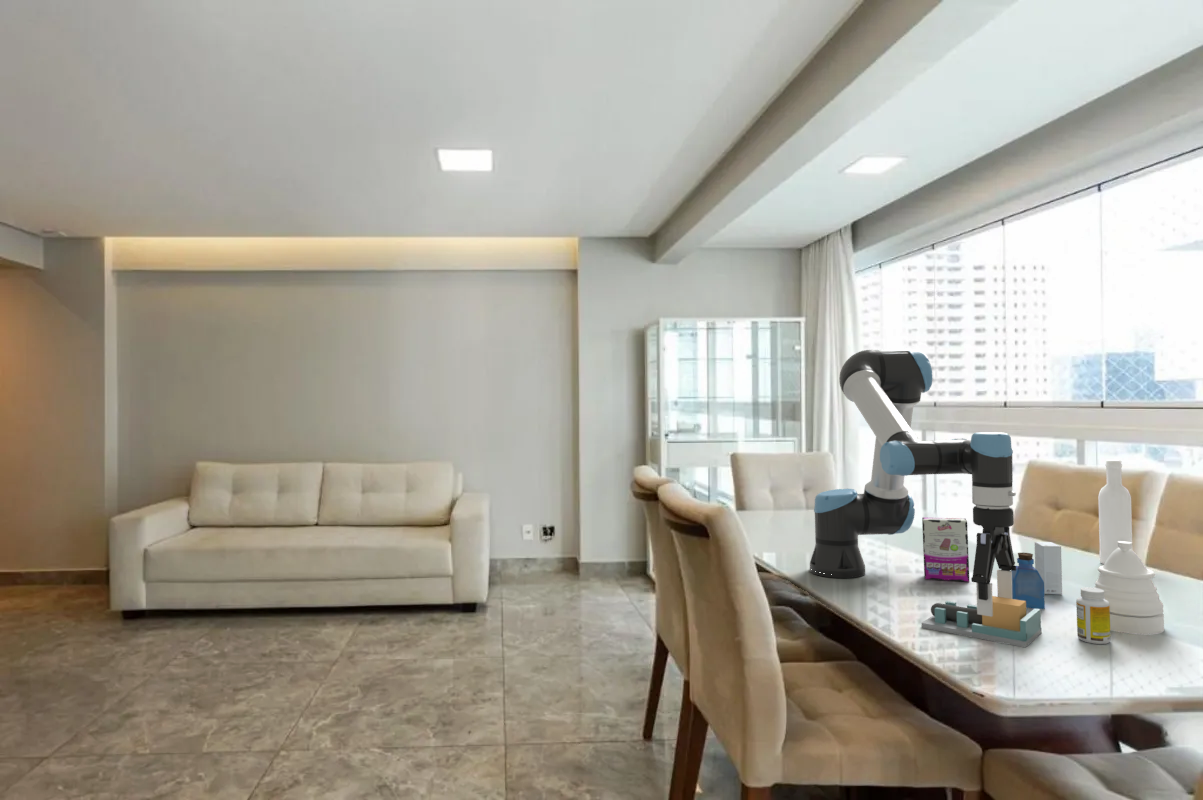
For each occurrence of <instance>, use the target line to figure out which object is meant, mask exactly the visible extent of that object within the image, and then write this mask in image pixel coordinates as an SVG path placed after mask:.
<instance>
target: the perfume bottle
mask: <svg viewBox="0 0 1203 800" xmlns="http://www.w3.org/2000/svg"><path fill="white" fill-rule="evenodd" d="M1017 555H1018V557H1017V558H1016V562H1017V564H1018V565H1015V566H1016V571H1012V570H1010V571H1012V599H1016V600H1022V601H1026V609H1035V608H1036V609H1040V610H1045V609H1046V606H1045V594H1044V581H1043V580H1042V578H1041V576H1040V574H1039V573H1038V571H1037V570H1036V569H1035V566H1033V565H1035V558H1034V554H1033V553H1031V552H1030V553H1029V552H1017Z"/></svg>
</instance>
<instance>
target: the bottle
mask: <svg viewBox="0 0 1203 800" xmlns="http://www.w3.org/2000/svg"><path fill="white" fill-rule="evenodd" d="M1122 467H1123V464H1122V461H1121V460H1120V459H1106V460H1105V472H1106V475H1105V476H1106V478H1105V479H1106V484H1104V486H1102V487H1101V488H1100V490H1099V493H1098V495H1097V496H1098V500H1097V501H1098V525H1099V526H1098V532H1099V534H1098V535H1099V536H1098V537H1099V539H1098V540H1099V553H1098V554H1099V562H1100V563H1101V564H1102V565H1104V564H1105V562H1106V560H1107V559H1108V557H1109V556H1110V555H1111V553H1112V552H1113V551H1114V550H1116V549H1117V548H1119V546H1118V543H1117V542H1118V541H1126V542H1132V543H1133V521H1132V520H1133V519H1132V517H1133V516H1132V514H1133V512H1132V495H1131V494H1130V491H1129V489H1128V488H1127V487H1125V486H1124V485H1123V480H1122V479H1123V475H1122V473H1123V472H1122ZM1131 550H1133V546H1132V547H1131ZM1133 551H1134V550H1133Z"/></svg>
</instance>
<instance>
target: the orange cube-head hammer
mask: <svg viewBox="0 0 1203 800" xmlns="http://www.w3.org/2000/svg"><path fill="white" fill-rule="evenodd" d="M992 601H993V616H992V617H991V616H985V615H979V614H977V609H971V608H967V607H964V606H957V605H956V606H953V605H947V604H945V603H940V602H936V603H934V604H932V605H931V607H930V613H931V615H932V616H934V617H935V608H936V607H937V608H943V609H946V620H951V621H957V611H961V612H967V613H968V624H973V623H975V624H981V625H986V626H992V627H997V628H1003V629H1009V630H1014V631H1020V620H1021V619H1022V618H1024V617H1025V616H1026V615H1027V608H1026V601H1022V600H1016V599H1009V598H1003V597H998V596H995V595H992Z"/></svg>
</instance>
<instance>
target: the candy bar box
mask: <svg viewBox="0 0 1203 800" xmlns="http://www.w3.org/2000/svg"><path fill="white" fill-rule="evenodd" d="M921 520H922V522H921V525H922V526H921V527H922V529H921V530H922V545H923V546H922V547H923V548H922V551H923V552H922V553H923V575H924V580H930V581H931V580H932V581H948V582H965V583H967V582H968V583H969V582H970V561H969V560H970V559H969V536H968V535H969V534H968V521H967V518H961V517H960V518H957V517H924V516H923V517H922V519H921Z"/></svg>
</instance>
